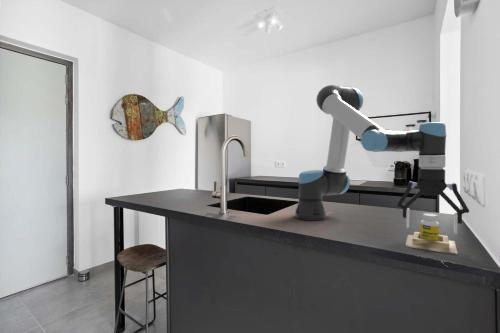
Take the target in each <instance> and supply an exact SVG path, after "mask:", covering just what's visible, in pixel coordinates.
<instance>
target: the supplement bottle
mask: <svg viewBox="0 0 500 333" xmlns="http://www.w3.org/2000/svg"><path fill="white" fill-rule="evenodd" d="M422 214H423V215H422V220H421V221H420V228H419V231H420V239H427V240H435V241H439V235H440V222H438V215H437V214H434V213H422Z"/></svg>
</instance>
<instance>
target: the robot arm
mask: <svg viewBox="0 0 500 333" xmlns="http://www.w3.org/2000/svg"><path fill="white" fill-rule="evenodd" d="M315 101H316V105H317V107H318V108H319V109H320V110H321V111H322V112H323V113H324V114H326V115H331V117H332V125H331V133H330V138H329V139H330V140H329V146H328V153H327V154H328V155H327V160H326V165H324V166H323V168H322V170H321V169H314V170H312V169H311V170H306V171H301V172H300V173H299V174H298V181H297V182H298V203H297V206H296V209H295V211H294V212H295V213H294V215H295V216H294V217H295V218H296V219H298V220H299V219H300V220H303V221H324V220H326V219H327V213H326V212H327V211H326V209H325V206H324V203H323V196H333V195H334V196H337V195H342V194H344V193H346V192H347V191H348V189H349V187H350V184H351V178H350V176H349V174H348V173H347V171H348V170H347V169H346V168H345V164H346V156H347V149H348V145H349V137H350V132H351V133H353V134H354V135H355V137H358V138H359V139H360V141H361V145H362V148H363V149H365V151H368V152H373V153H374V152H375V153H378V152H393V153H394V152H396V153H403V152H404V153H405V152H418V168H419V169H418V180H417V182H414V181H411V180H410V181H408V183H407V188H406V189H405V191H404V193H403V194H402V196H401V197H400V199H399V200H398V202H397V204H396V206H397V207H398V208H401V209H402V218H403V219H406V222H405V226H406V227H405V229H409V228H410V208H408V207H410V206H411V205H412V204H413V203H415V201H416V200H417V199H419V198H420V197H421V196H422V195H424V196H433V197H438V196H440V197H441V198H442V199H444V201H445V202H447V204H449V206H450V207H452V209H453V210H454V211H455V212H453V234H454V235H458V224H459V225H460V224H462V223H463V222H462V221H463V215H464V214H466V213H467V214H469V212H470V209H469V207H468V206H467V204H466V203H465V201H464V199H463V197H462V195H460V193H459V191H458V184H457V183H456V182H455V183H454V182H452V183H446V170H445V169H444V168H446V142H447V128H446V124H445V123H444V122H442V121H439V122H437V121H435V122H433V121H431V122H424V123H421V124H419V128H418V129H417V130H406V131H405V130H385V129H384V128H382V127H381V126H379V125H378V124H377V123H375V122H374V121H372V120H371V119H369V118H368V117H367V116H365V115H363V113H361V112H360V110H361V109H362V107H363V106H364V96H363V93H362V92H361V91H360V90H359V89H358V88H357V87H352V86H343V85H333V84H330V85H325V86H324V87H322V88H321V89H320V90H319V91H318V93H317V95H316V100H315ZM415 187H417V188H418V189H419V190H418V191H417V192H416V193H415V195H413V196H412V197H411V198H410V199H409V200H408V201H407V202H406V203H404V201H406V200H405V199H406V198H407V196H408V195H409V193H410V192H411V190H412V189H414V188H415ZM447 188H448V190H450V191H452V192H453V194H454V196H455V198H456V199H457V201H458V202H459V204H460V206H461V208H460V207H459V206H458V205H457V204H456V203H455V202H454V201H453V199H451V198H450V197H449V196H448V195H447V194H446V193H445V192H444V191H445V190H446V189H447Z"/></svg>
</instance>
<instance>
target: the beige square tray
mask: <svg viewBox="0 0 500 333" xmlns="http://www.w3.org/2000/svg"><path fill="white" fill-rule="evenodd" d="M405 241H406V242H405V245H404V246H405V247H407V248H413V249H420V250H425V251H431V252H432V251H433V252H438V253H444V254H449V255H451V254H452V255H456V256H457V255H458V250H457V245H456V242H455V240H449V237H448V235H442V234H439V241H435V240H427V239H420V232H419V231H414V232H413V234H408V235H407V237H406V240H405Z"/></svg>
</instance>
